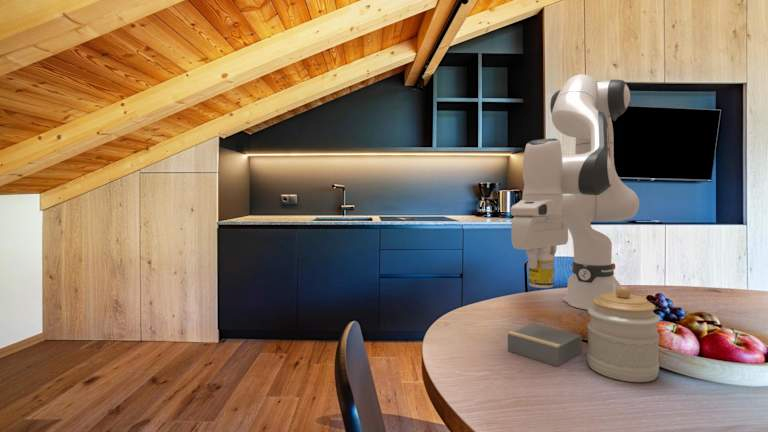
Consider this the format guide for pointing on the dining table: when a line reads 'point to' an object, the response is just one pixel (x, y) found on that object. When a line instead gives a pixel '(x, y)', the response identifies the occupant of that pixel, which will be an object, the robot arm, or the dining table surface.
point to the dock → (545, 343)
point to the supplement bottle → (542, 269)
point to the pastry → (584, 331)
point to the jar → (623, 337)
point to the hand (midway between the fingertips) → (541, 266)
